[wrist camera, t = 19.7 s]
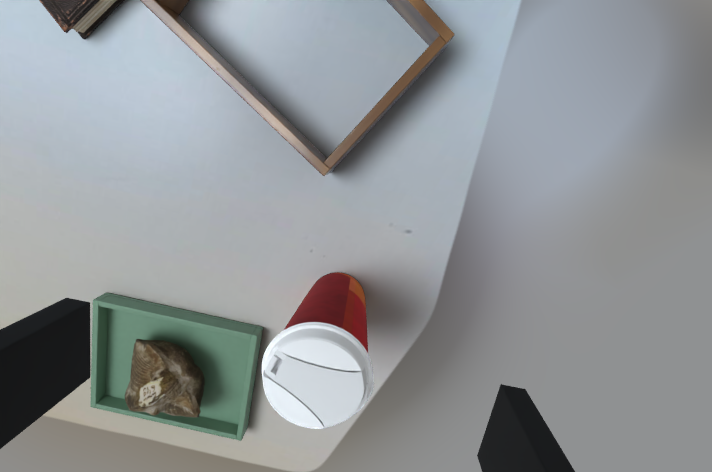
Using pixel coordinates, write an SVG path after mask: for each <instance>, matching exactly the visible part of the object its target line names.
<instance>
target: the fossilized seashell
mask: <svg viewBox="0 0 712 472" xmlns="http://www.w3.org/2000/svg"><path fill="white" fill-rule="evenodd" d="M204 385H205V378H204V374H203V372H202V370H201V369H200V367H198V366H197V365H196V364H195V363H194V360H193V358H192V356H191V355H190V353H189V352H188V351H187V350H186V349H184V348H183V347H181V346H179V345H177V344H174V343H172V342H167V341H164V340H142V339H136V342H135V344H134V349H133V356H132V363H131V375H130V382H129V385H128V387H127V389H126V392H125V401H126V404H127V406H128V408H129V410H131V411H134V412H146V413H149V414H151V415H154V416H155V415H157V414H159V413H160V412H164V413H166V414H169V415H172V416H184V417H194V418H195V417H199V414H200V412H201V411H200V405H201V401H202V397H203V392H204Z"/></svg>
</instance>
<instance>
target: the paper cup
mask: <svg viewBox="0 0 712 472" xmlns="http://www.w3.org/2000/svg"><path fill="white" fill-rule="evenodd" d="M262 377H263V386H264V391H265V394H266V397H267V399H268V401H269V403H270V404H271V405H272V407H273V408H274V409H275V410H276V411H277V413H278V414H280V415H281V416H282V417H283V418H285V419H286V420H288V421H290V422H291V423H294V424H296V425H298V426H302V427H306V428H312V429H324V428H328V427H331V426H334V425H337V424H339V423H342V422H344V421H345V420H347V419H348V418H350V417H351V416H353V415H354V414H356V413H357V412H358V411H359V410H360V409H361V408H362V407H363V406H364V405H365V403H366V402H367V401H368V399H369V397H370V396H371V394H372V391H373V388H374V378H373V367H372V362H371V359H370V357H369V354H368V342H367V320H366V303H365V295H364V291H363V289H362V287H361V285H360V284H359V282H358V281H357V280H356V279H354V278H353V277H351V276H350V275H347V274H344V273H330V274H327V275H325V276H323V277H321V278H320V279H319V280H318V281H317V282H316V283H315V284H314V285H313V287H312V288H311V290H310V291H309V292H308V294H307V295H306V297H305V298H304V300H303V301H302V303H301V304H300V306H299V307H298V309H297V311H296V312H295V314H294V315H293V317H292V318H291V320H290V321H289V323H288V324H287V326H286V327H285V329H284V330H283V331H282V332H281V333H279V334H278V335H277V336H276V337H275V338H274V339H273V340H272V341H271V342H270V344H269V345H268V347H267V349H266V351H265V353H264V356H263V360H262Z"/></svg>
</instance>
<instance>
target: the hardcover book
mask: <svg viewBox="0 0 712 472" xmlns="http://www.w3.org/2000/svg"><path fill="white" fill-rule="evenodd" d="M124 1H125V0H40V2H41V3H42V4H43V5H44V7H45V8H46V9H47V11H48V12H49V13H50V14H51V16H52V17H53V18H54V19H55V21H56V22H57V23H58V24H59V26H60V27H61V28H62V29H63V31H64V32H66V33H67V32H68V31H69V30H70V29H71V28H72V29H74V30H75V31H76V32H78V33H79V34H80V36H81V37H82V38H83V39H86V38H87V37H88V36H89V35H90V34H91V33H92V32H93V31H94V30H95V29H96V28H97V27H98V26H99V25H100V24H101V23H102V22H103V21H104V20H105V19H106V18H107V17H108V16H109V15H110V14H111V13H112V12H113V11H114V10H115V9H116V8H117V7H118V6H119V5H120V4H122V3H123V2H124Z"/></svg>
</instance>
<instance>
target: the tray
mask: <svg viewBox="0 0 712 472" xmlns="http://www.w3.org/2000/svg"><path fill="white" fill-rule="evenodd" d="M262 331H263V327H260V326H256V325H251V324H247V323H242V322H238V321H233V320H229V319H224V318H220V317H215V316H210V315H206V314H201V313H197V312H192V311H188V310H183V309H179V308H174V307H170V306H165V305H161V304H156V303H152V302H147V301H142V300H138V299H133V298H129V297H124V296H120V295H115V294H111V293H105V294H103V295H101V296H99V297H97V298H96V299H94V300H93V325H92V369H91V407H93V408H98V409H102V410H106V411H111V412H115V413H120V414H124V415H129V416H133V417H138V418H142V419H146V420H151V421H155V422H160V423H164V424H169V425H173V426H178V427H182V428H187V429H191V430H195V431H200V432H204V433H209V434H213V435H218V436H222V437H227V438H231V439H236V440H240V441H241V440H242V438H243V436H244V434H245V432H246V430H247V427H248V420H249V414H250V408H251V401H252V395H253V388H254V382H255V376H256V369H257V363H258V356H259V350H260V344H261V337H262ZM136 339H142V340H164V341H167V342H172V343H174V344H177V345H179V346H181V347H183V348H184V349H186V350H187V351H188V352H189V353H190V355H191V356H192V358H193V360H194V363H195V364H196V365H197V366H198V367H200V369H201V370H202V372H203V374H204V378H205V385H204V392H203V397H202V401H201V405H200V411H201V412H200V414H199V417H195V418H194V417H184V416H172V415H169V414H166V413H164V412H160V413H159V414H157V415H155V416H154V415H151V414H149V413H146V412H134V411H131V410H129V408H128V406H127V404H126V401H125V392H126V389H127V387H128V385H129V382H130V375H131V363H132V356H133V349H134V344H135V342H136Z"/></svg>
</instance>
